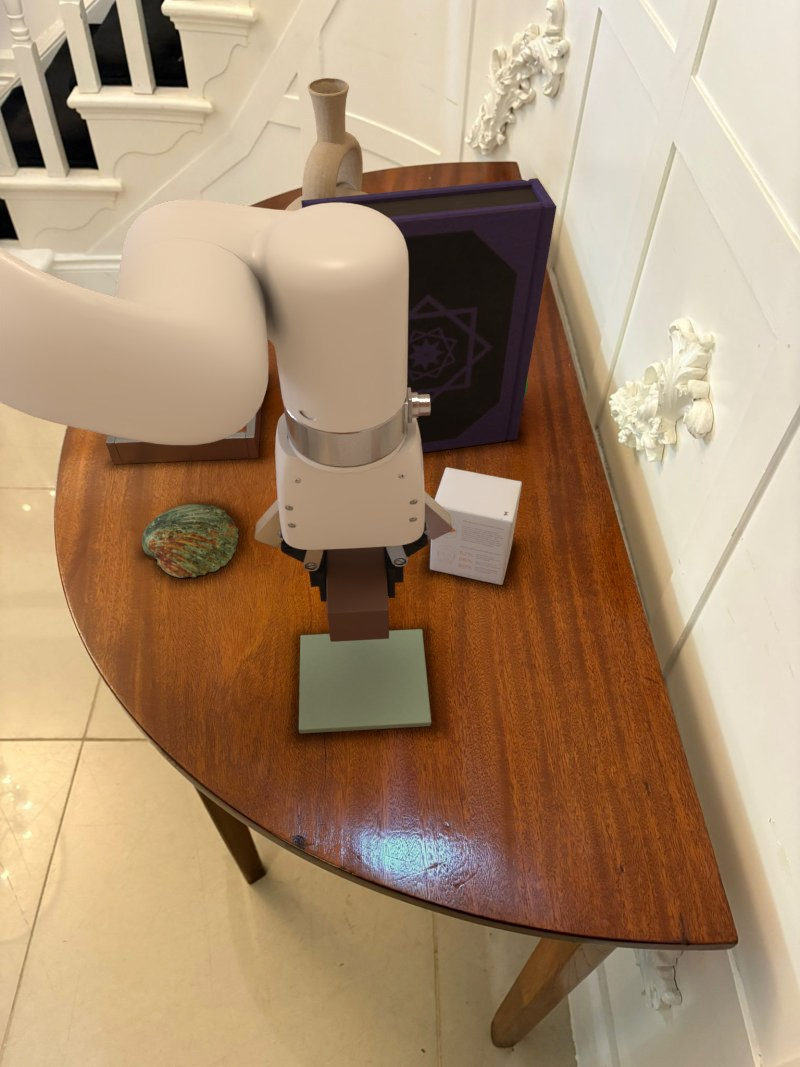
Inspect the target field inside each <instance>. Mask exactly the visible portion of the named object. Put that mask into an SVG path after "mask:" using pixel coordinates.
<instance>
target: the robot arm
mask: <svg viewBox="0 0 800 1067" xmlns="http://www.w3.org/2000/svg"><path fill="white" fill-rule="evenodd" d="M120 256H121V257H120V263H119V270H118V276H117V281H116V285H115V292H114V296H113V295H109V294H106V293H103V292H100V291H97V290H94V289H93V290H92V289H90V288H86V287H83V286H80V285H77V284H74V283H73V282H69V281H66V280H64V279H61V278H59V277H55V276H54V275H52V274H50V273H47V272H45V271H43V270H41V269H39V268H37V267H34V266H32V265H30V264H29V263H27V262H25V261H23V260H22V259H20V258H18V257H17V256H15V255H13V254H11V253H10V252H8V251H7V250H5V249H4V248H3V247H2V246H0V403H1V404H3V405H5V406H7V407H8V408H11V409H14V410H16V411H18V412H21V413H24V414H26V415H28V416H31V417H34V418H36V419H40V420H44V421H47V422H51V423H54V424H59V425H63V426H66V427H71V428H75V429H80V430H83V431H89V432H93V433H97V434H102V435H106V436H108V435H111V436H115V437H120V438H125V439H130V440H135V441H142V442H149V443H155V444H165V445H199V444H205V443H211V442H215V441H218V440H221V439H224V438H227V437H229V436H231V435H233V434H234V433H236V432H240V431H241V430H242V429H243V428H244V427H246V426H247V423H248V422H249V421H250V420H251V419H252V418H253V417H254V416H255V414H256V413H257V411H258V410H259V408H260V406H261V404H262V405H263V402H264V398H265V395H266V391H267V390H268V384H269V342H270V343H271V344H272V345H273V348H274V351H275V352H274V353H275V359H276V365H277V372H278V380H279V386H280V392H281V393H280V394H281V399H282V406H283V413H282V415H280V417H279V419H278V421H277V425H276V432H275V447H274V448H275V449H274V457H275V479H276V480H275V481H276V494H277V499H276V500H275V501H274V502H273V503H272V504H271V505H270V506H269V508H268V509H267V510H266V511H265V512H264V513H263V515H262V516H261V517H260V518H259V519H258V520H257V521H256V523H255V526H254V540H255V541H257V542H259V543H261V544H265V545H267V546H270V547H272V548H275V549H277V548H279V549H280V551H281V552H282V553H283V554H285V555H287V556H289V557H290V558H293V559H295V560H297V561H299V562H301V563H302V567H303V569H304V570H305V571H307V572H308V575H309V582H310V587H311V588H318V589H319V598H320V602H322V603H325V602H326V603H327V549H347V548H366V547H383V546H384V554H385V568H386V577H387V591H388V599H396V584H398V583H404V574H405V573H404V568H405V566H407V565H408V563H409V557H411V556H413V555H414V554H416V553H417V552H419V551H420V550H422V549H423V548H425V547H426V546H427V545H428V544H429V541H431V539H432V540H434V539H436V538H438V537H440V536H442V535H444V534H446V533H448V532H450V531H451V530H452V523H451V516H450V514H449V513H448V512H447V511H446V510H445V509H444V508H443V507H442V506H441V505H439V504H438V503H437V502H436V501H435V498H433V497H432V496H431V495H430V494H429V493H428V492H427V491H426V490H425V472H424V471H425V470H424V456H423V455H424V453H422V445H421V437H420V431H419V427H418V423H417V420H416V418H418V416H425V415H430V410H431V407H430V395H429V394H418V393H417V392H411V387H410V388H407V359H408V289H409V262H408V250H407V246H406V242H405V239H404V237H403V235H402V233H401V231H400V230H399V228H398V227H397V226H396V225H395V223H394V222H392V221H391V220H390V219H389V218H388V217H386V216H385V215H383V214H382V213H380V212H378V211H376V210H374V209H371V208H369V207H365V206H362V205H357V204H351V203H323V204H317V205H311V206H308V207H305V208H301V209H299V210H296V211H287V210H285V209H275V208H274V209H273V208H266V207H259V206H251V205H242V204H236V203H230V202H224V201H216V200H214V201H213V200H205V199H191V198H189V199H187V198H186V199H173V200H169V201H165V202H161V203H158V204H155V205H153V206H151V207H149V208H148V209H146V210H144V211H142V213H140V214H139V215H138V216H137V217H136V219H135V220H134V221H133V222H132V224H131V225H130V227H129V229H128V230H127V233H126V236H125V239H124V242H123V245H122V251H121V255H120ZM268 341H269V342H268Z"/></svg>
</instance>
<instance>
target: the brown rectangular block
mask: <svg viewBox="0 0 800 1067" xmlns="http://www.w3.org/2000/svg"><path fill="white" fill-rule="evenodd" d="M389 607H390V606H389V597H388V591H387V577H386V568H385V554H384V546H383V547H366V548H347V549H327V602H326V616H327V618H326V619H327V625H328V634H330V641H331V642H338V641H356V640H374V639H389V631H390V608H389Z"/></svg>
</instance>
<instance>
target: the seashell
mask: <svg viewBox="0 0 800 1067" xmlns="http://www.w3.org/2000/svg"><path fill="white" fill-rule="evenodd" d="M238 533H239V528H238V527H237V526H236V523H235V522H234V520H233V518H232V517H231V516H229V515H228V513H227V512H226V510H224V509H221V508H220V507H219V506H215V505H210V504H204V503H188V504H182V505H178V506H175V507H173V508H170V509H167V510H166V511H164V512H162V513H160V514H159V515H157V516H156V517H155V518H154V519H153V520H152V521H151V522H149V523H148V525H146V527H145V529H144V531H143V533H142V536H141V547H142V550H143V552H144V553H145V554H146V555H148V556H149V557H151V558H153V559H155V560H157V562H156V565H157V566H158V567H160V568H161V570H162V571H163V572H165V573H166V574H168V575H170V576H173V577H176V578H181V579H184V578H189V577H191V578H197V577H198V576H205V575H207V573H214V572H216V571H218V570H220V568H221V567H225V566H227V565H228V563H229V561H230V560H232V558H233V557H234V554H235V553H236V551H237V546H238V539H239V537H240V536H239V534H238Z"/></svg>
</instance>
